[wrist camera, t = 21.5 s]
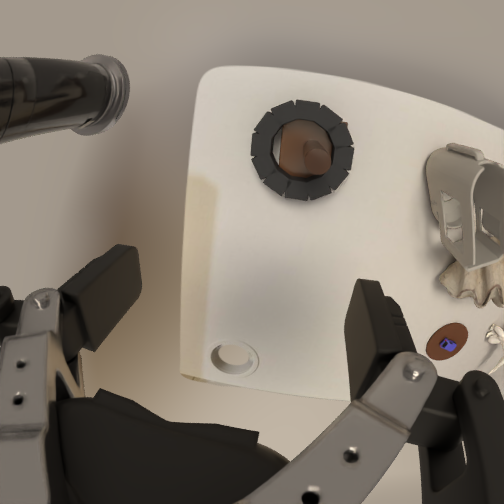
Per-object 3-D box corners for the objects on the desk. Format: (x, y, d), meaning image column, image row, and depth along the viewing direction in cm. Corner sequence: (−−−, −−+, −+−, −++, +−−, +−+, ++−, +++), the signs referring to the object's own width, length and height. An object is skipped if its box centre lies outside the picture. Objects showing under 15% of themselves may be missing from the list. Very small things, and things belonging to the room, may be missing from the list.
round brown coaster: (445, 363, 42) (447, 369, 41) (417, 351, 42) (419, 357, 40) (474, 331, 38) (478, 337, 37) (448, 316, 38) (451, 322, 37)
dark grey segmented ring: (250, 187, 34) (246, 192, 31) (259, 97, 29) (256, 95, 27) (341, 200, 33) (344, 207, 30) (355, 110, 28) (359, 110, 26)
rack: (278, 172, 34) (266, 200, 23) (284, 113, 31) (274, 109, 20) (338, 181, 33) (355, 213, 22) (345, 122, 30) (370, 123, 19)
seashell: (501, 289, 34) (530, 326, 25) (430, 281, 36) (457, 324, 27) (522, 230, 30) (560, 259, 21) (451, 212, 32) (489, 242, 23)
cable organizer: (431, 238, 34) (471, 286, 23) (416, 144, 29) (464, 159, 19) (471, 227, 32) (518, 268, 21) (460, 135, 28) (517, 148, 17)
